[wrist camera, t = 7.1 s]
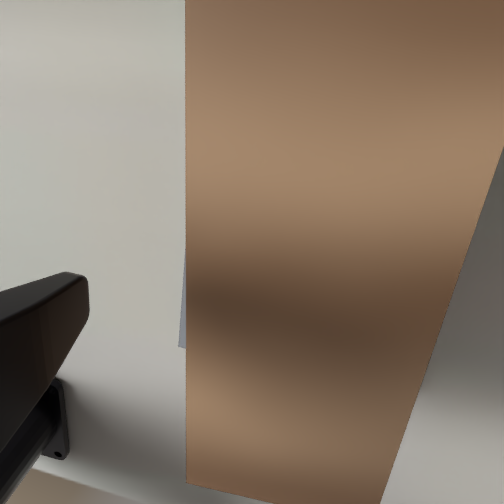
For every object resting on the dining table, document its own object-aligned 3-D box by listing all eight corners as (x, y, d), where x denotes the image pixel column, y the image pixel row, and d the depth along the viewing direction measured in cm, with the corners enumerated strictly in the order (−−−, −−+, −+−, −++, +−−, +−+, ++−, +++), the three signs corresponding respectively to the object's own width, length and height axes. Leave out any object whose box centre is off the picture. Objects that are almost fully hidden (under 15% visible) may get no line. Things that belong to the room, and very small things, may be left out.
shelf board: (366, 416, 16) (371, 526, 12) (220, 386, 16) (186, 483, 13) (494, -47, 9) (587, -95, 6) (241, -61, 10) (184, -110, 6)
